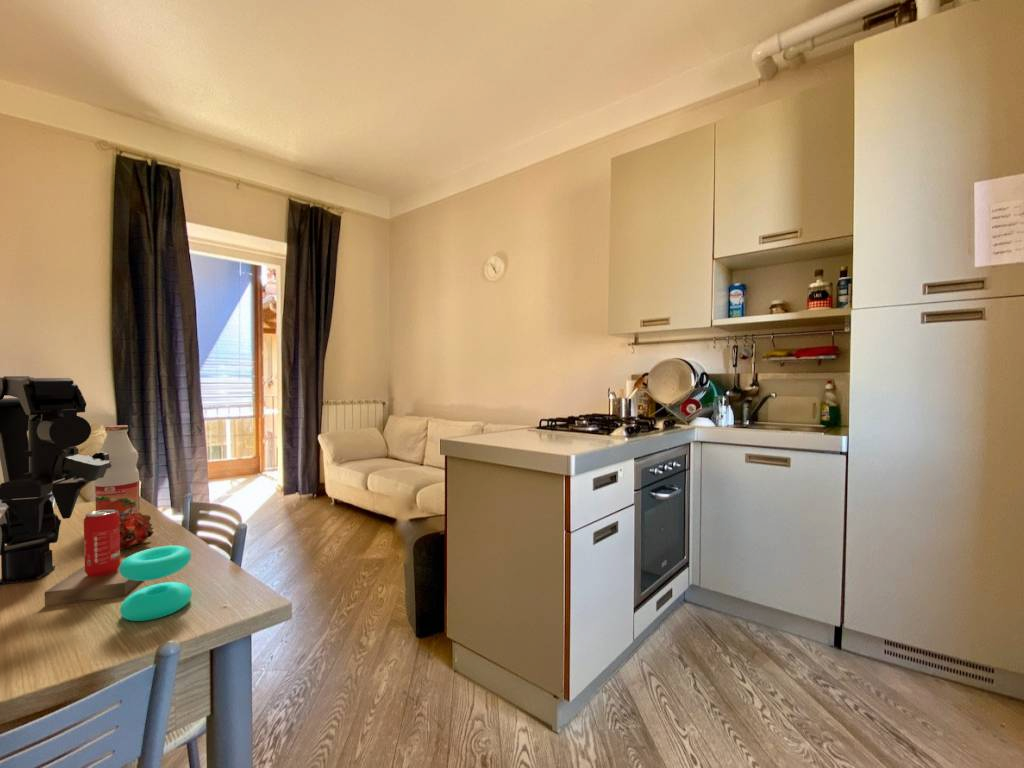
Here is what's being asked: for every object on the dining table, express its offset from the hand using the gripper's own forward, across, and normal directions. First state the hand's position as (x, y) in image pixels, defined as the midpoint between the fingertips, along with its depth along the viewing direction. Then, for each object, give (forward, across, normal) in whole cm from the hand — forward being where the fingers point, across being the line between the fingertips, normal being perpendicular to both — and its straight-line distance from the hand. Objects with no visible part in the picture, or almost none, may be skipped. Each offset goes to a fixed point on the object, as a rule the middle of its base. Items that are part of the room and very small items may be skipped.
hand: (51, 525), depth 88 cm
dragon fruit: (+13, +26, -2) cm, 29 cm away
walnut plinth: (+13, 0, -8) cm, 15 cm away
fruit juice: (+13, +46, +9) cm, 49 cm away
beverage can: (+11, 0, -8) cm, 13 cm away
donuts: (+13, -14, -22) cm, 29 cm away
